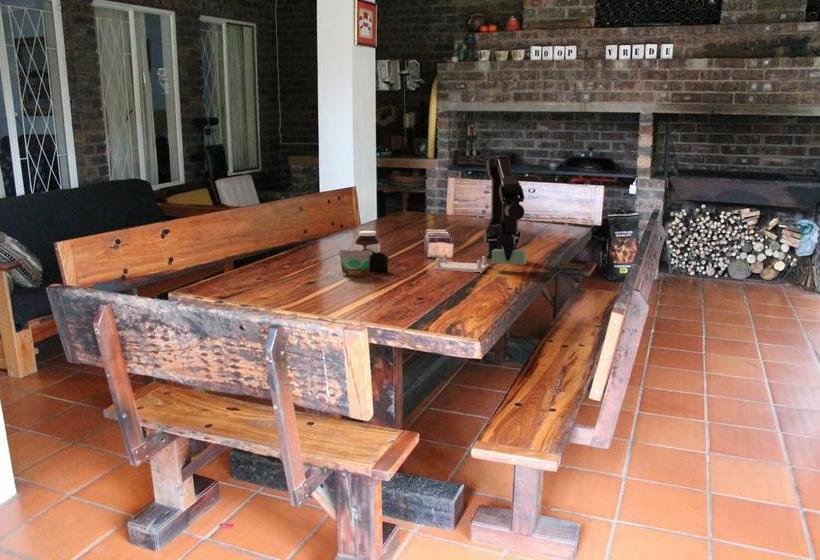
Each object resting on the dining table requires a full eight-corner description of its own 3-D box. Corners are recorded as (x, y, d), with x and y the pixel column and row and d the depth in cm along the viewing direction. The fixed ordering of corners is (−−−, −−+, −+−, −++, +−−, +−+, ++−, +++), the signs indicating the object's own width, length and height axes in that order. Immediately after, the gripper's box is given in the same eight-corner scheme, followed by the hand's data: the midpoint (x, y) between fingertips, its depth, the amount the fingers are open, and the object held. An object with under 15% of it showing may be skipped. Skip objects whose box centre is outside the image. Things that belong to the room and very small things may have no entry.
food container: (340, 279, 257) (339, 251, 255) (338, 276, 263) (337, 249, 261) (375, 278, 260) (374, 250, 258) (372, 275, 266) (372, 247, 264)
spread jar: (381, 258, 302) (381, 230, 300) (377, 263, 291) (377, 234, 289) (352, 258, 304) (352, 230, 301) (347, 262, 292) (347, 233, 290)
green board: (494, 260, 274) (494, 249, 273) (526, 262, 270) (526, 250, 270) (491, 263, 269) (491, 251, 269) (524, 264, 266) (524, 252, 265)
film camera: (393, 270, 275) (393, 246, 274) (385, 275, 266) (385, 250, 265) (356, 268, 280) (355, 245, 278) (346, 273, 270) (346, 249, 269)
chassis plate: (442, 265, 284) (442, 254, 284) (488, 267, 279) (488, 256, 278) (434, 270, 273) (434, 259, 272) (481, 273, 268) (481, 261, 267)
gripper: (493, 214, 278) (492, 254, 281) (482, 219, 260) (482, 262, 263) (522, 214, 275) (521, 255, 278) (513, 220, 257) (512, 263, 260)
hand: (509, 259), depth 270 cm, fingers closed on green board, 5 cm apart
